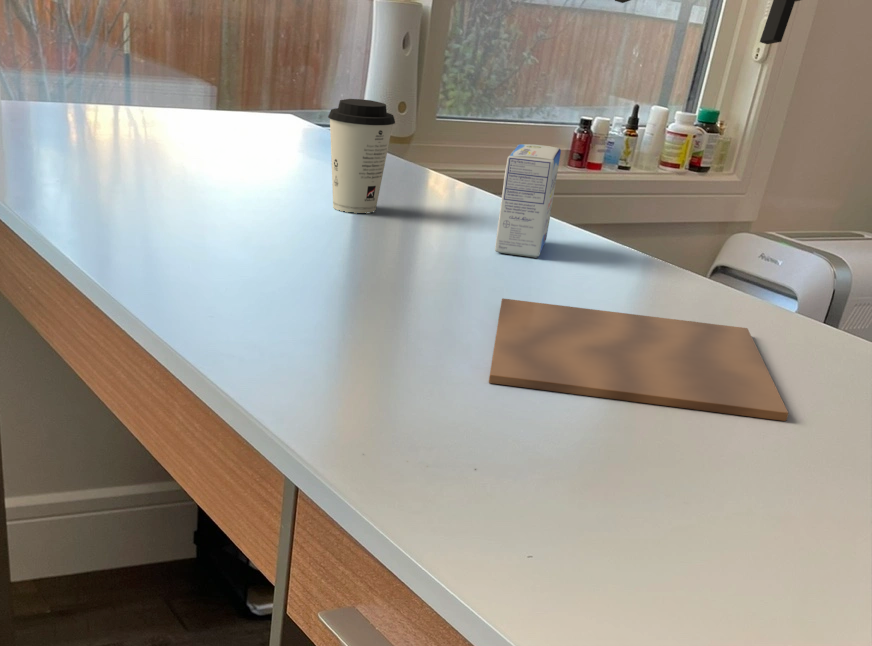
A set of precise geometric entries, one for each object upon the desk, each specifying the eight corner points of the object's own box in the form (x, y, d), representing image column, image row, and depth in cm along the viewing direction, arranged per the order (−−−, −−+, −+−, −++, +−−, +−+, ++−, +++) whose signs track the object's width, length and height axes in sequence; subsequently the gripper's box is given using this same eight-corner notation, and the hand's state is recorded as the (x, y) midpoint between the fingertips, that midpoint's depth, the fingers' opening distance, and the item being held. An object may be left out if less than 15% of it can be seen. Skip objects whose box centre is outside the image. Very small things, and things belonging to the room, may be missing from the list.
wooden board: (745, 335, 91) (747, 327, 90) (786, 421, 74) (788, 412, 74) (500, 305, 92) (501, 298, 92) (488, 383, 76) (489, 374, 76)
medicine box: (538, 259, 107) (556, 159, 101) (492, 253, 107) (507, 153, 102) (546, 242, 113) (562, 147, 108) (502, 236, 114) (517, 141, 108)
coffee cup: (391, 218, 117) (401, 110, 111) (324, 214, 116) (332, 105, 110) (382, 203, 122) (392, 100, 116) (319, 199, 121) (325, 95, 116)
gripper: (912, -233, 91) (808, 61, 100) (630, -330, 86) (548, -13, 96) (967, -263, 84) (850, 55, 93) (664, -369, 80) (573, -25, 89)
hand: (697, 22), depth 94 cm, fingers open, 13 cm apart
